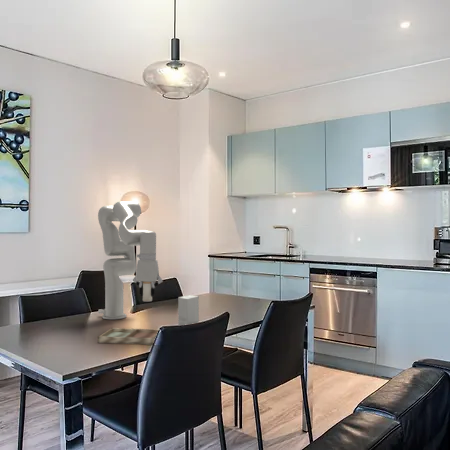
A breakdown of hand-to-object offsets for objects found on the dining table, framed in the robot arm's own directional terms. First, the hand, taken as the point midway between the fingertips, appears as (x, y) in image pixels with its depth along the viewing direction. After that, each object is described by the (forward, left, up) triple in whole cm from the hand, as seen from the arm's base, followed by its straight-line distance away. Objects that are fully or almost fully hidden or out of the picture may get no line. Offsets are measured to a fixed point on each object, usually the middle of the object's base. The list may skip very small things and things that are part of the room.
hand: (147, 295), depth 217 cm
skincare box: (+18, +7, -17) cm, 26 cm away
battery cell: (0, 0, -2) cm, 2 cm away
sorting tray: (-3, -15, -17) cm, 23 cm away
